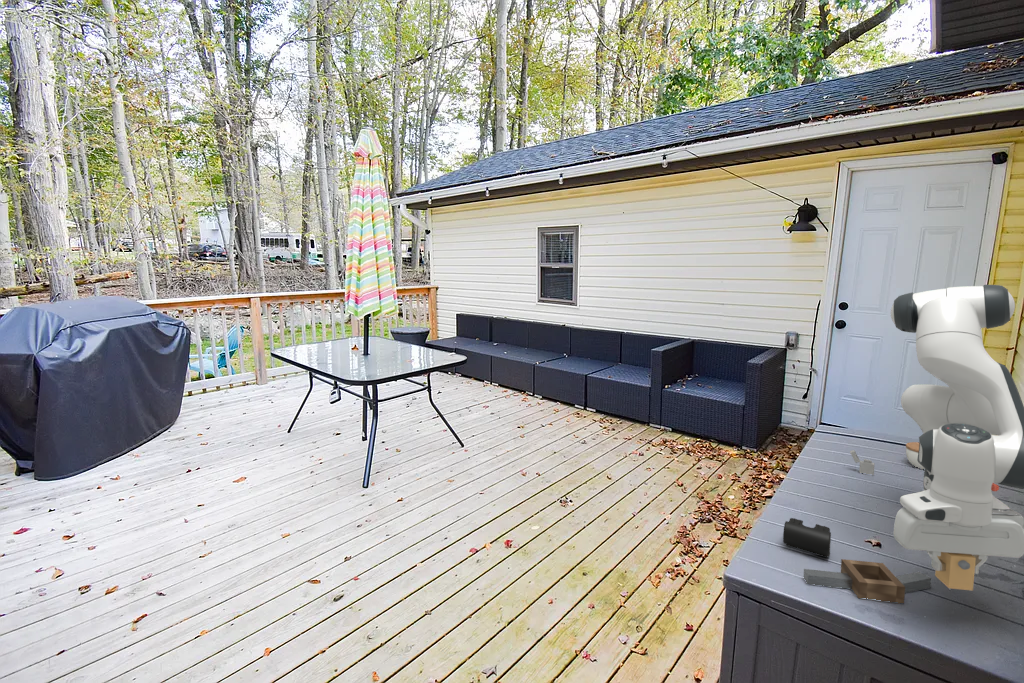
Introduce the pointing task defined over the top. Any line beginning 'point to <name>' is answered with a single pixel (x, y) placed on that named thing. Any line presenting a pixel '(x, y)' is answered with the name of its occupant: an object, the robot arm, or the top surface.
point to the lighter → (863, 464)
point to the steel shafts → (844, 580)
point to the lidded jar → (913, 453)
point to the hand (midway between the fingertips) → (954, 570)
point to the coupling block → (957, 570)
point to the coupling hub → (873, 581)
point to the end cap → (807, 537)
